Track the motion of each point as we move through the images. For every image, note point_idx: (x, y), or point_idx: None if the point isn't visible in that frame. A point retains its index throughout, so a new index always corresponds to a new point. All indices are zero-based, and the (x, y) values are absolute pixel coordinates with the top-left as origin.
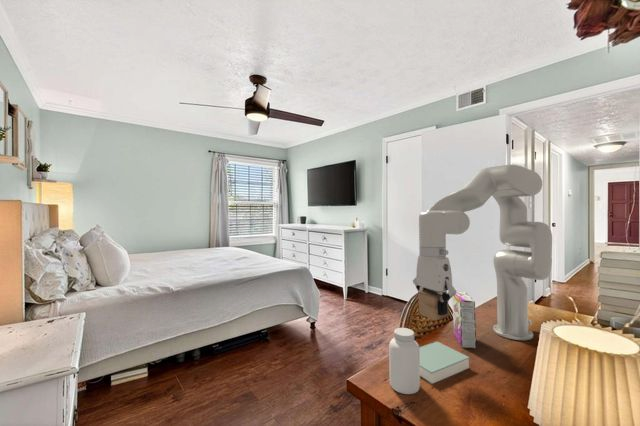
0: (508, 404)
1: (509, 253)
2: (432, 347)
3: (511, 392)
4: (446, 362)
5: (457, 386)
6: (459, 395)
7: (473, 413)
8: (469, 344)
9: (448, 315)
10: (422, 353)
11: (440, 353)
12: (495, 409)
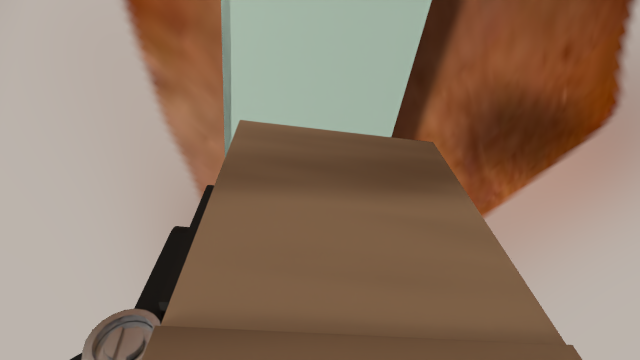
0: (579, 86)
1: None
2: (262, 23)
3: (595, 6)
4: (382, 99)
5: (431, 122)
6: (449, 155)
7: (496, 187)
8: None
9: (435, 148)
10: (275, 114)
11: (324, 48)
12: (544, 135)
